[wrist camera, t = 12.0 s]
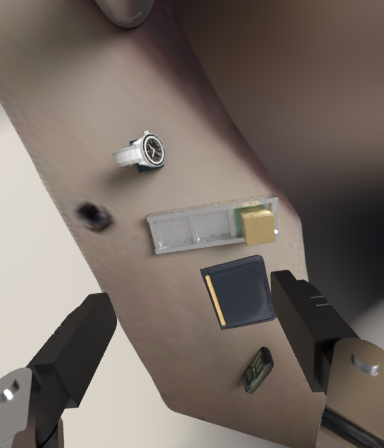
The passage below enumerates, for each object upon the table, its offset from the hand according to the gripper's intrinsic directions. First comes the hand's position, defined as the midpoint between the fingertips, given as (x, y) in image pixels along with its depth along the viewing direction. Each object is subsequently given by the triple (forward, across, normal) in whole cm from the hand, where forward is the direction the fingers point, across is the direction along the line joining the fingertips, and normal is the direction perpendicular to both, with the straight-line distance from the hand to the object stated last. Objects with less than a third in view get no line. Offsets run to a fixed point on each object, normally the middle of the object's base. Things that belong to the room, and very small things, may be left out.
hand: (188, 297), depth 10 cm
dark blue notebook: (+34, -6, +28) cm, 44 cm away
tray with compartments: (+33, -2, +8) cm, 34 cm away
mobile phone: (+34, -8, +53) cm, 63 cm away
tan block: (+32, -10, +8) cm, 34 cm away
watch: (+33, +8, -8) cm, 35 cm away
